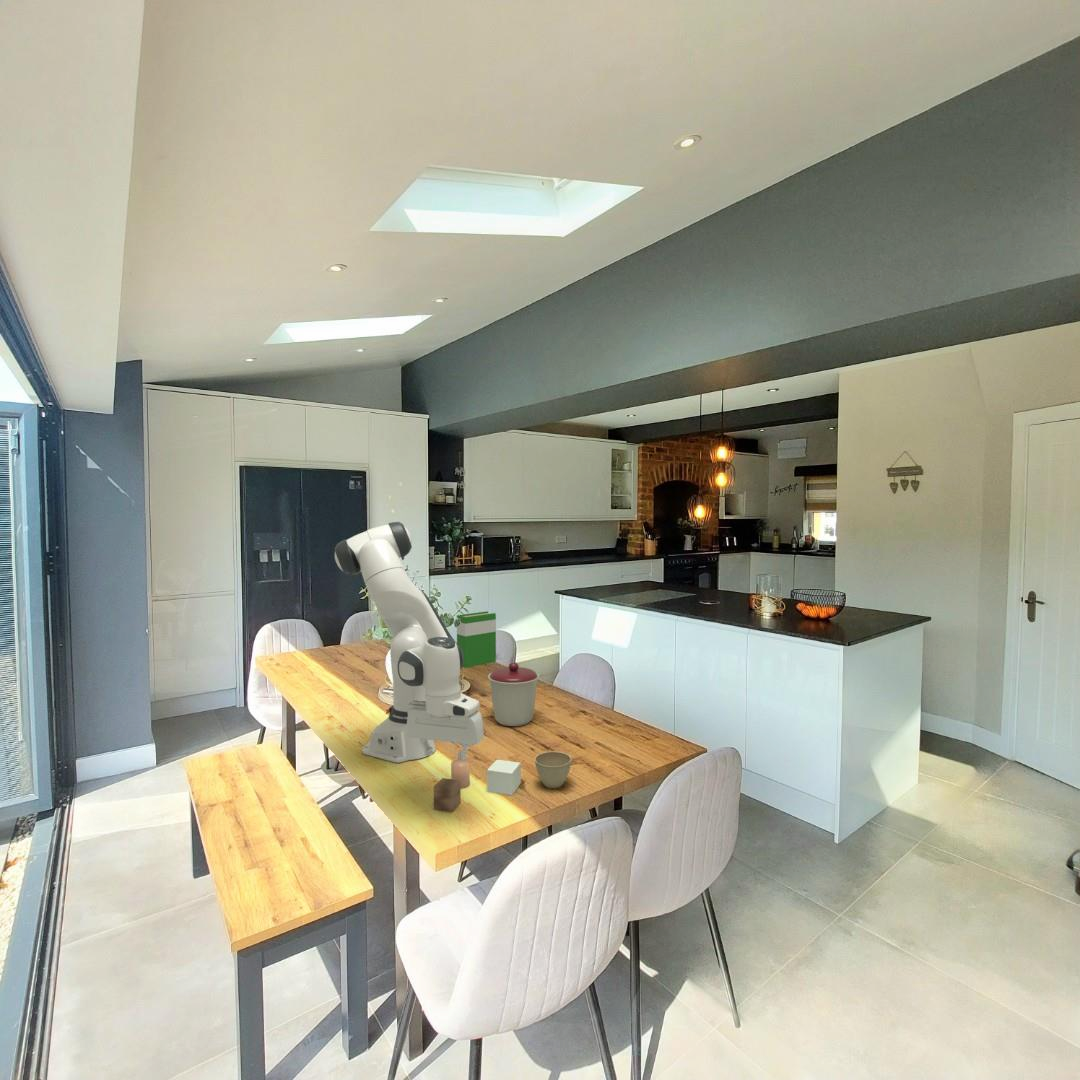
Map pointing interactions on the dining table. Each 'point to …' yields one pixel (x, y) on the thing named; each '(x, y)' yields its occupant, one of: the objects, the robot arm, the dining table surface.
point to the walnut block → (447, 795)
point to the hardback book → (477, 638)
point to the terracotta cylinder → (461, 772)
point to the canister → (513, 694)
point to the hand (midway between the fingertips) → (445, 757)
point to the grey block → (503, 777)
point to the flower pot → (553, 768)
